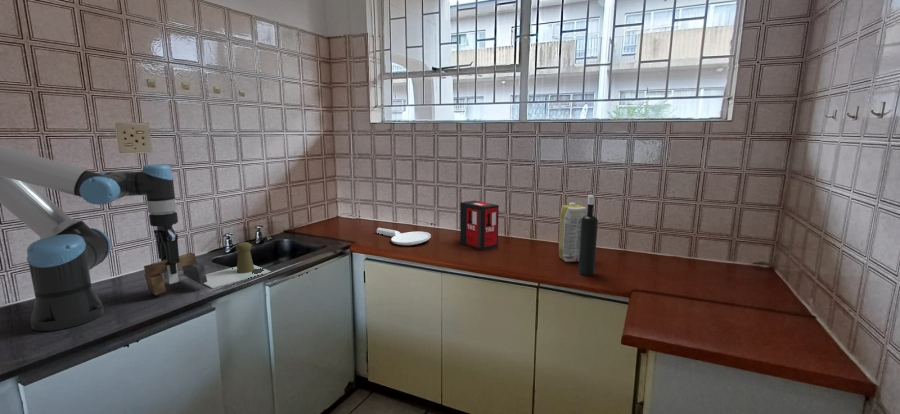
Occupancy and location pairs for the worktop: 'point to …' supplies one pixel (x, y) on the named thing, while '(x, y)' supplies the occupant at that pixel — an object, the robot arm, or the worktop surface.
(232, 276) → the plate
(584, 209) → the juice carton
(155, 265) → the wooden arch block
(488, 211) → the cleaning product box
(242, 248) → the cork
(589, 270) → the wine bottle
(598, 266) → the worktop surface
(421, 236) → the frying pan
